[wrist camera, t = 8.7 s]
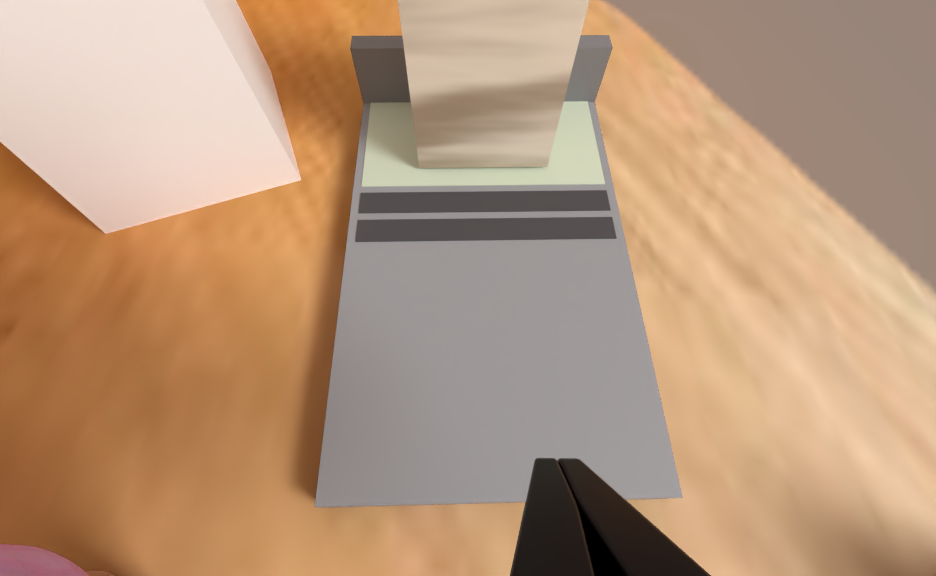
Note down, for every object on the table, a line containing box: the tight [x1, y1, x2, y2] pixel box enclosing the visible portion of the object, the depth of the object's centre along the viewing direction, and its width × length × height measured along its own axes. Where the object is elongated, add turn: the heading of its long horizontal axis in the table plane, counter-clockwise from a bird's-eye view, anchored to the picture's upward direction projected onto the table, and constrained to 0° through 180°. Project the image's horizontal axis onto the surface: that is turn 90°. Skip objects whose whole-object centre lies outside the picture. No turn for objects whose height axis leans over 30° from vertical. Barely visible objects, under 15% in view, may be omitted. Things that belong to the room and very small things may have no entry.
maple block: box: [398, 0, 589, 168], centre depth 23 cm, size 5×8×12 cm, turn 91°
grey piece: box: [315, 35, 683, 507], centre depth 24 cm, size 26×16×6 cm, turn 1°
